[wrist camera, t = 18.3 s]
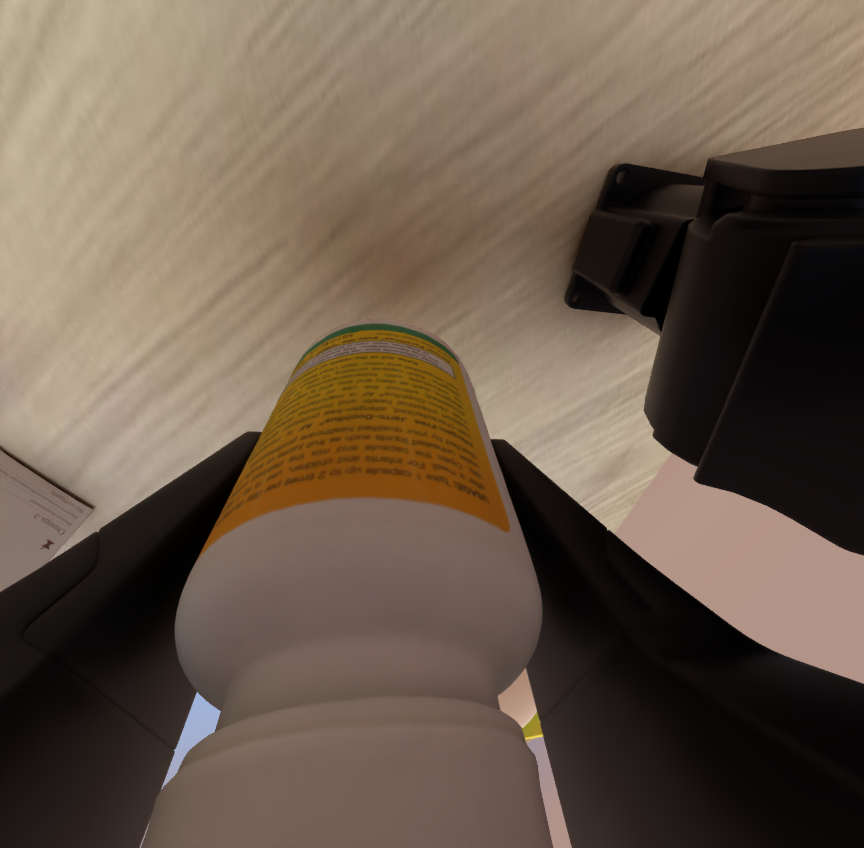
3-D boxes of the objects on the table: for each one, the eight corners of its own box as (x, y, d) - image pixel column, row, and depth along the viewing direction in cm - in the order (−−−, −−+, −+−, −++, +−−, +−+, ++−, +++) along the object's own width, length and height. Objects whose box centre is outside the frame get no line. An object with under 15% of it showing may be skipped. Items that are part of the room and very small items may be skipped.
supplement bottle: (494, 421, 12) (680, 903, 4) (360, 481, 13) (311, 945, 5) (417, 272, 9) (569, 1051, 1) (251, 369, 10) (-237, 1069, 2)
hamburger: (441, 633, 43) (454, 765, 34) (422, 602, 39) (432, 748, 29) (536, 612, 42) (578, 743, 33) (529, 578, 37) (577, 721, 28)
